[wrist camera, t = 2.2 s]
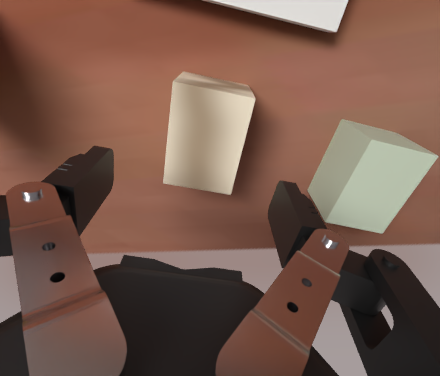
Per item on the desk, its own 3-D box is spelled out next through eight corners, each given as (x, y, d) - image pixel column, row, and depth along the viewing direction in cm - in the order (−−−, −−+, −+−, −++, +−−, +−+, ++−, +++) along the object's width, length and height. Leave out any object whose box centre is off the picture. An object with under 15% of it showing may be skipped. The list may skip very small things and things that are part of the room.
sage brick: (395, 132, 22) (438, 156, 17) (354, 199, 25) (382, 233, 21) (341, 118, 21) (371, 139, 17) (307, 189, 25) (325, 222, 20)
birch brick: (248, 84, 20) (255, 98, 16) (229, 165, 23) (230, 194, 19) (183, 71, 19) (172, 81, 15) (174, 155, 23) (163, 183, 19)
